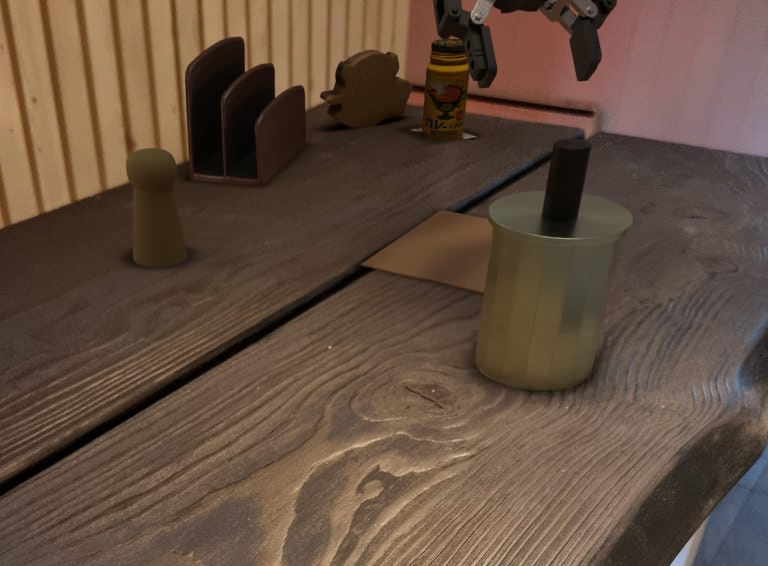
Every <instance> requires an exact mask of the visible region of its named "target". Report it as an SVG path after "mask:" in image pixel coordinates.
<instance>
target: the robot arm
mask: <svg viewBox="0 0 768 566" xmlns="http://www.w3.org/2000/svg"><path fill="white" fill-rule="evenodd" d="M617 5H618V0H477V1H476V3H475V5H474V7H473V9H472V11H469V10H465V9H463V4H462V0H432V6H433V12H434V21H435V27H436V33H437V35H438V37H439V39H448V38H450V39H451V37H453V38H455V39H460V41H461V42H462V43H463V44H464V46H465V51H466V56H467V62H468V67H469V72H470V74H469V77H471V79H472V81H473V82H476V83H477V86H478V89H479V90H480V89H489V88H490V87H491V85H492V84H493V82H494V80H495V79H496V77H497V74H498V65H497V59H496V52H495V49H494V44H493V39H492V33H491V28H490V25H485V22H486V21H487V18H488V16H489V14H490V12H491V10H492V8H493V7H494V9H496V10H499V11H500V14H501V15H503V14H511V13H514V12H517V11H522V12H527V13H534V12H538V11H540V13H542V15H544V17H546V19H548V21H550V22H551V23H555V22H557V23H558V24H559V25H560V26H561V27H562V28H563V29H564V30H565V31H566V32H567V33H568V34H569V35H570V38H569V39H568V41H569V46H570V52H571V57H572V62H573V67H574V73H575V78H576V81H577V82H588V81H589V80H590V79H591V77H592V76H593V74H594V73H595V72H596V70H597V69H598V68H599V67H598V66H599V65H600V63H601V62H602V57H603V53H602V48H601V43H600V37H599V33H598V30H600V29H601V27H602V26H603V24H604V23H605V21H606V20H607V18H608V17H609V15H610V14H611V13H612V12H613V11H614V9H615V8H616V6H617ZM570 6H571V8H572V9H574V11H575V12H576V13H577V14H576V13H575V12H574V11H573V10H572V9H571V8H570Z"/></svg>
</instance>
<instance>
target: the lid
mask: <svg viewBox="0 0 768 566" xmlns="http://www.w3.org/2000/svg"><path fill="white" fill-rule="evenodd" d="M592 145H593V144H592V143H591V142H589V141H586V140H583V139H578V138H562V139H557V140H555V141H553V145H552V151H551V156H550V163H549V168H548V174H547V181H546V186H545V190H534V191H533V190H532V191H523V192H516V193H512V194H508V195H505V196H503V197H500V198H497V199H495V200H494V201H493V202H492V203H490V205H489V207H488V209H487V217H486V218H487V219H488V221H489V223H490V225H491V226H492V227H494V228H495V229H496V230H498V231H499V232H501V233H503V234H505V235H508V236H510V237H513V238H516V239H519V240H523V241H527V242H532V243H537V244H543V245H551V246H568V247H577V246H592V245H600V244H605V243H609V242H613V241H616V240H619V239H621V238H622V239H623V238H624V237H626V236H627V235H628V234H629V233H630V232H631V231H632V229H633V225H634V216H633V215H632V213H631V211H630V210H628V209H627V208H626V207H625V206H623V205H621V204H619V203H617V202H615V201H612V200H609V199H607V198H604V197H601V196H596V195H593V194H592V195H591V194H588V193H583V192H584V187H585V182H586V177H587V172H588V167H589V161H590V157H591V152H592V147H593V146H592Z"/></svg>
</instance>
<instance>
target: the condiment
mask: <svg viewBox="0 0 768 566" xmlns="http://www.w3.org/2000/svg"><path fill="white" fill-rule="evenodd" d="M430 44H431V45H430V48H431V49H430V55H429V59H430V61H429V63H428V64H427V67H426V69H425V81H424V82H425V84H424V92H423V93H424V95H423V96H424V97H423V98H424V99H423V100H424V101H423V104H422V105H423V112H422V113H423V114H422V124H421V127H420V128H414V129H411V131H413V132H420V133H422V135H423V136H424V137H425V138H429V139H432V140H433V139H434V140H453V139H454V140H455V139H464V140H468V139H473V138H477V136H475V135H472V134H469V133H466V132H464V128H465V121H466V120H465V118H466V111H467V109H466V108H467V100H468V93H469V81H470V72H469V67H468V62H467V56H466V51H465V46H464V44H463V43H462V42H461V41H460V39H459V38H451V37H450V38H448V39H442V38H438V39H435V40H434V41H432V43H430Z"/></svg>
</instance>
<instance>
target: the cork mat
mask: <svg viewBox="0 0 768 566" xmlns="http://www.w3.org/2000/svg"><path fill="white" fill-rule="evenodd" d="M492 232H493V227H492V226H491V225H490V223H489V221H488V218H487V217H481V216H476V215H472V214H471V215H470V214H466V213H465V214H464V213H460V212H454V211H450V210H449V211H448V210H443V209H441V210H439V211H437V212H436V213H435V214H433V215H431V216H430V217H429V218H427V219H426V220H425V221H423V222H422V223H420V224H419V225H417V226H416V227H414V228H413V229H411V230H409V231H408V232H406V233H405V234H403V235H402V236H401V237H398V239H396V240H395V241H393V242H392V243H390V244H389V245H387V246H386V247H384V248H383V249H381V250H380V251H378V252H377V253H375V254H374V255H372V256H371V257H370V258H368V259H366V260H365V261H363V262H361V264H360V266H361V267H363V268H364V267H365V268H369V269H372V270H378V271H382V272H387V273H390V274H396V275H399V276H403V277H409V278H413V279H417V280H418V279H419V280H423V281H426V282H431V283H435V284H440V285H445V286H449V287H453V288H458V289H461V290H466V291H470V292H471V291H472V292H476V293H480V294H484V290H485V283H486V275H487V268H488V261H489V253H490V246H491V239H492Z"/></svg>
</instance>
